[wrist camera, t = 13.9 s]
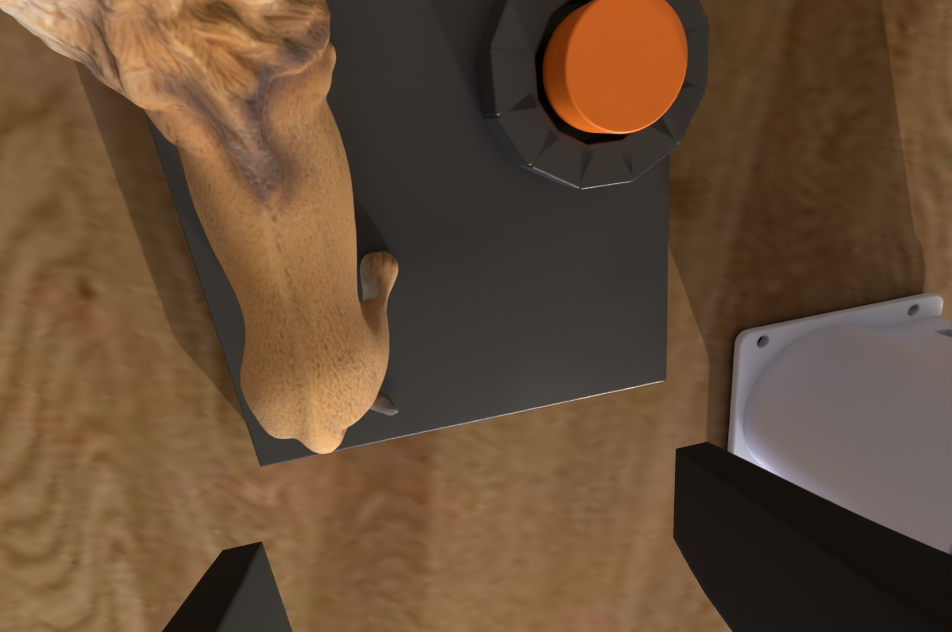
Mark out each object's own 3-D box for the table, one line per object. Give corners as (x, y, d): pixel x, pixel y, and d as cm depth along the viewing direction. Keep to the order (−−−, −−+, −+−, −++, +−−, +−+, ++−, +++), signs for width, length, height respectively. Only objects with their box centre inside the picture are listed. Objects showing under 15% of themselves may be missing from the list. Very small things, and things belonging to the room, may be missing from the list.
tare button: (653, -4, 14) (690, -20, 12) (653, 125, 15) (687, 125, 13) (537, 9, 13) (560, -7, 12) (545, 139, 15) (568, 141, 13)
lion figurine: (54, -62, 12) (-607, -455, 4) (272, -133, 13) (87, -635, 4) (324, 432, 18) (287, 699, 10) (469, 374, 18) (556, 583, 10)
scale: (654, -43, 16) (714, -78, 13) (652, 367, 21) (695, 404, 18) (126, 5, 14) (66, -25, 11) (266, 447, 19) (248, 503, 16)
